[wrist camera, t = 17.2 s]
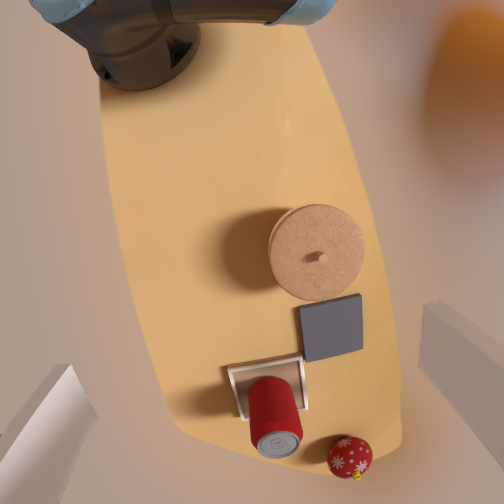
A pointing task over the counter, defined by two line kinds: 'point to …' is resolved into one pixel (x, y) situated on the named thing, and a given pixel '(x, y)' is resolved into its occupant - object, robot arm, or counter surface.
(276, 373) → the board
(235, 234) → the counter surface
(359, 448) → the christmas ornament
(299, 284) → the lidded jar
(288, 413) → the beverage can
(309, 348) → the pad
